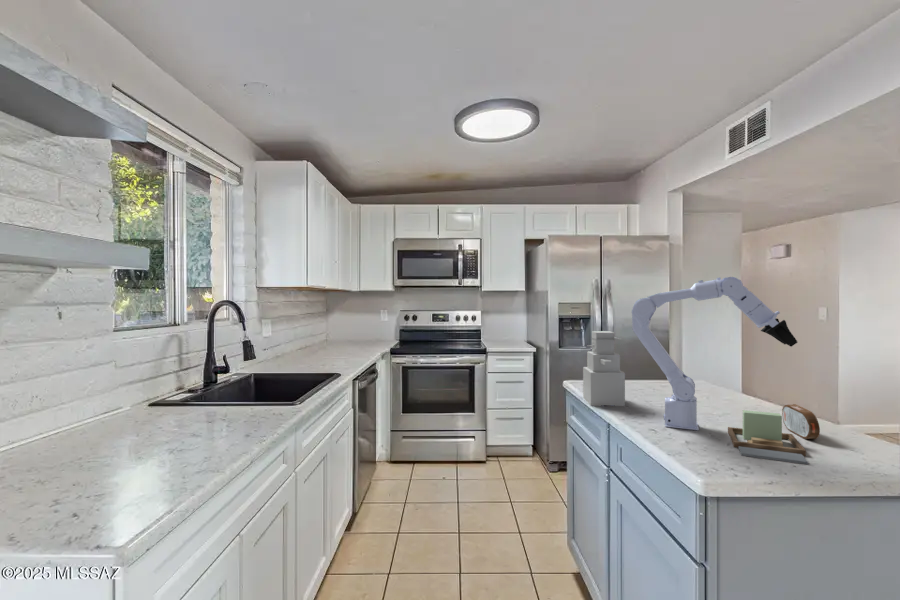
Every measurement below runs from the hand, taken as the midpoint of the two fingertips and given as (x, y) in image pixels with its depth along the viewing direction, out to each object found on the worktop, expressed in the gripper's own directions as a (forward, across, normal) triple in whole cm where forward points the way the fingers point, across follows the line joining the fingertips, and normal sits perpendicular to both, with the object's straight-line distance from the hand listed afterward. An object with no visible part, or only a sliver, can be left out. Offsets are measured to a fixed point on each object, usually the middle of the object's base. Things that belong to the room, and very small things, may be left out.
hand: (791, 343), depth 128 cm
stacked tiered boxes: (-16, +24, +60) cm, 67 cm away
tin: (+23, +7, +16) cm, 29 cm away
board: (+16, -4, +25) cm, 30 cm away
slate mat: (+16, -18, +25) cm, 35 cm away
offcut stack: (+17, -9, +25) cm, 31 cm away
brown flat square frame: (+16, -7, +25) cm, 30 cm away
